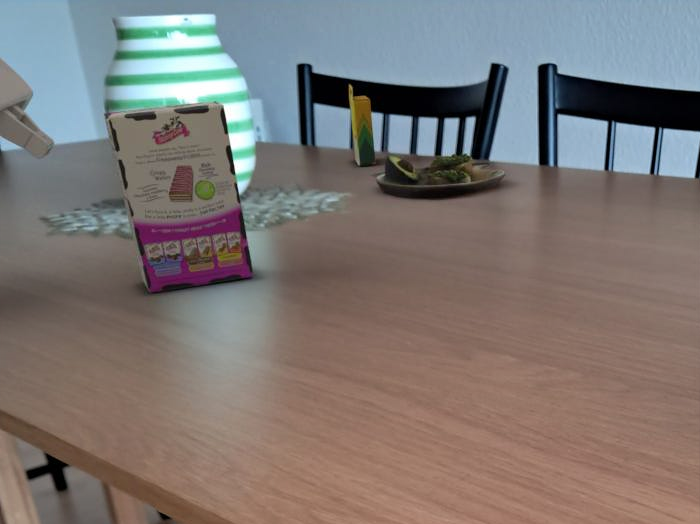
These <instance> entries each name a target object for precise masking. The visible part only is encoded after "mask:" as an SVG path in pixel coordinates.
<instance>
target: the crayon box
mask: <svg viewBox="0 0 700 524" xmlns="http://www.w3.org/2000/svg"><path fill="white" fill-rule="evenodd" d="M348 101H349V108H350V109H349V110H350V119H351V129H352V140H353V151H354V160H355V162H356V163H357V165H358V167H366V166H368V167H369V166H375V165H376V151H375V141H374V129H373V117H372V108H371V99H370V98H369V97H367V96H366V95H358V96H354V87H353V85H352V84H350V83H348Z"/></svg>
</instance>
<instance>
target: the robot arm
mask: <svg viewBox="0 0 700 524" xmlns="http://www.w3.org/2000/svg"><path fill="white" fill-rule="evenodd" d="M33 96H34V91H33V90H32V88H31V87H30V85H29V84H28V83H27V81H26V80H25V79H24V78H23V77H22V76H21V75H20V74H19V73H17V71H15V70H14V69H13V68H12V67H11V66H10V65H9V64H8V63H7V62H6V61H5V60H3V59H2V58H1V57H0V138H2V139H5V140H7V141H8V142H10V143H12V144H14V145H16V146H18V147H19V148H22V149H24V150H25V151H26V152H28V153H29V154H30V155H31V156H33V157H34V158H36V159H37V160H41V159H43V158H45V157H46V156H48V155H49V154H50V152H51V151H52V149H54V146H55V141H54V139H53V138H52V137H51V136H49V135H48V134H46V133H45V132H44V131H43V130H42V129H40V127H39V126H38V125H37V124H36V122H35V121H34V120H33V119H32V118H31V116H29V114H28V113H27V112H25V111H26V109H27V107H28V106H29V103H30V102H31V100H32V99H33Z"/></svg>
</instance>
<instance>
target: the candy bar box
mask: <svg viewBox="0 0 700 524" xmlns="http://www.w3.org/2000/svg"><path fill="white" fill-rule="evenodd" d="M103 117H104V121H105V126H106V130H107V134H108V138H109V142H110V146H111V150H112V156H113V159H114V164H115V167H116V171H117V176H118V180H119V184H120V185H119V186H120V189H121V193H122V197H123V198H122V199H123V201H124V206H125V211H126V215H127V219H128V220H127V221H128V223H129V228H130V232H131V236H132V241H133V245H134V250H135V254H136V257H137V260H138V265H139V271H140V274H141V278H142V281H143V284H144V286H145V287H146V288H147V290H148V292H149V293H157V292H158V293H159V292H165V291H171V290H178V289H184V288H185V289H186V288H193V287H198V286H204V285H209V284H210V285H211V284H216V283H222V282H223V283H224V282H229V281H235V280H241V279H249V278H252V277H253V276H254V269H253V264H252V258H251V253H250V247H249V241H248V236H247V230H246V224H245V219H244V213H243V207H242V201H241V196H240V191H239V186H238V179H237V173H236V167H235V161H234V156H233V150H232V145H231V140H230V135H229V128H228V121H227V116H226V111H225V107H224V104H223V103H220V102H217V101H216V100H215V101H205V102H195V103H183V104H174V105H165V106H155V107H147V108H138V109H130V110H129V109H128V110H120V111H113V112H112V111H111V112H105V113H103Z"/></svg>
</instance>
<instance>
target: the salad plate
mask: <svg viewBox="0 0 700 524" xmlns="http://www.w3.org/2000/svg"><path fill="white" fill-rule="evenodd" d="M490 164H491V162H490V161H481V162H473V158H472V156H471V155H468V153H465V152H464V153H462V154H460V155H457V154H456V153H452V154H451V155H442V156H441V155H436V156H435V159H433V160H432V162H431V163H430V165H428V166H425V167H418V168H414V166H413V164H412V162H411V161H410V160H409V159H405V158H400V157H399V156H396V155H393V154H390V155H387V158H386V160H385V164H384V171H381V172H374V173H372V174H370V177H373V178H375V181H376V184H377V185H378V186H379V188H380V190H381V191H382V192H383V194H385V195H390V196H393V197H394V196H395V197H400V198H406V199H407V198H408V199H417V200H419V199H421V200H436V199H439V200H440V199H449V198H455V197H461V196H465V195H469V194H473V193H478V192H481V191H484V190H487V189H489V188H493V187H495V186H497V185H498V184H499V183H500V182H501V181H502V180H503V179H504V178H506V173H505V171H504V170H503V169H484V168H486V167H488V166H491V165H490Z"/></svg>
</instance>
